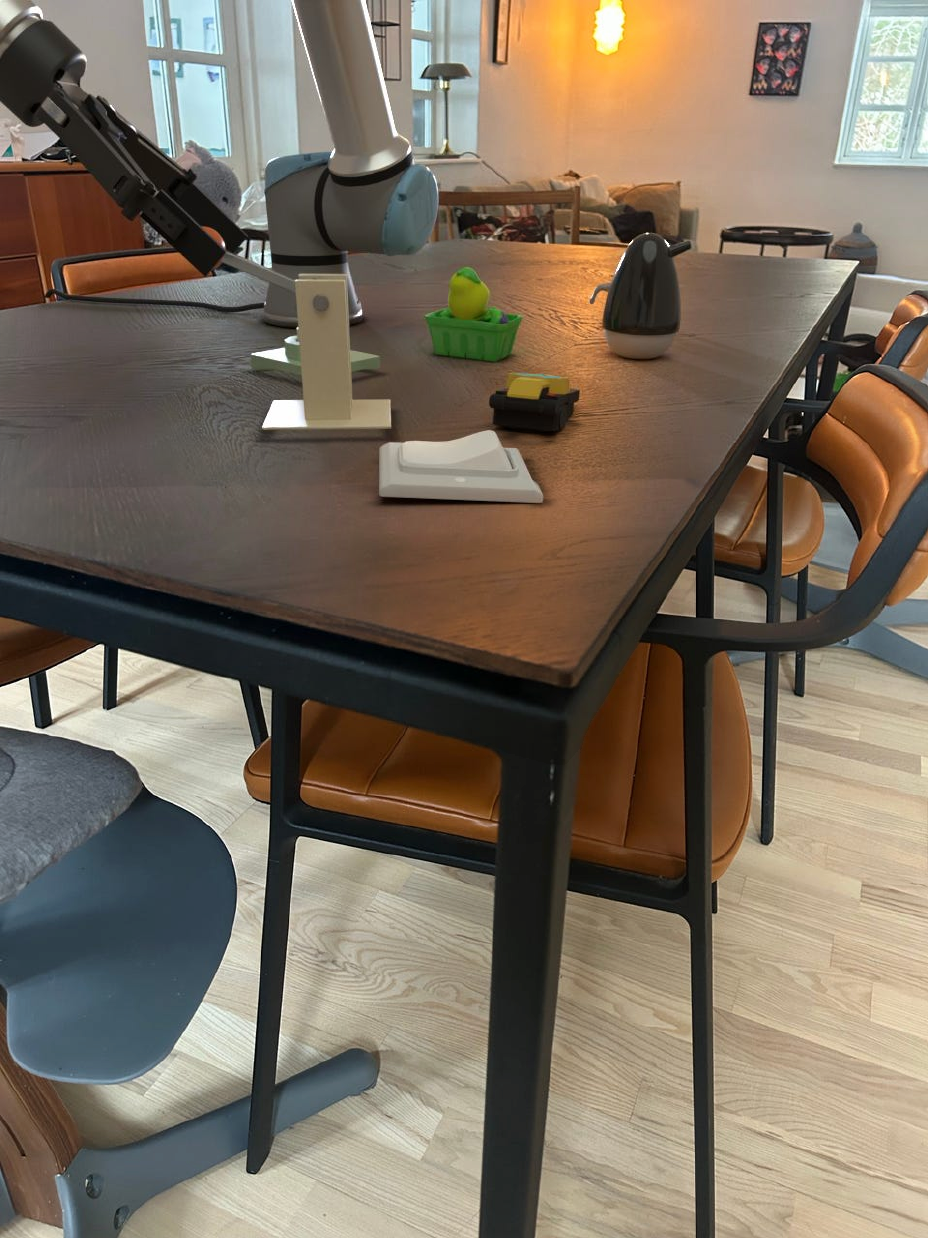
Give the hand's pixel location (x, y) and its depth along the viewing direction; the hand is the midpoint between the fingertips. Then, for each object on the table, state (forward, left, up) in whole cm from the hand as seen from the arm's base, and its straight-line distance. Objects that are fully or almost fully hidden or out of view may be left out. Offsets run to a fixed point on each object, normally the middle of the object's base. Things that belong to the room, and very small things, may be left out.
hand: (228, 255), depth 79 cm
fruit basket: (-5, +41, -16) cm, 44 cm away
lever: (+2, +1, -3) cm, 4 cm away
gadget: (+22, +19, -16) cm, 33 cm away
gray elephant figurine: (-1, +74, -16) cm, 75 cm away
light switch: (+26, +2, -16) cm, 30 cm away
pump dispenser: (+11, +57, -16) cm, 60 cm away
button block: (-12, +20, -16) cm, 28 cm away
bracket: (+6, +6, -16) cm, 18 cm away
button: (-12, +20, -12) cm, 26 cm away
